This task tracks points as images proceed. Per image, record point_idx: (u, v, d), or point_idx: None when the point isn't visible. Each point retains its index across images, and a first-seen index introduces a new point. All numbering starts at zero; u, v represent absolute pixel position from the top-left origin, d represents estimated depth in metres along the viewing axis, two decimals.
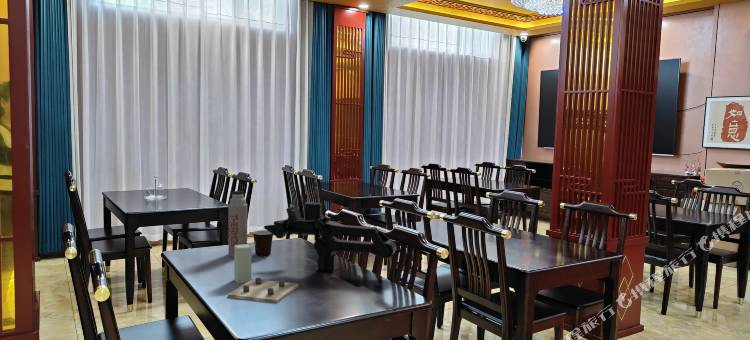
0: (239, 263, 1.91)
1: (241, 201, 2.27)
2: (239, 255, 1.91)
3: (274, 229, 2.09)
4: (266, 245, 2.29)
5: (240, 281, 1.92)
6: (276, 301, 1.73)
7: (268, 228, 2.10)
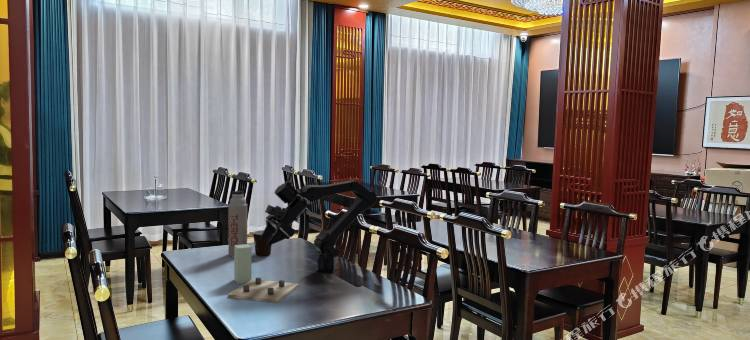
0: (239, 263, 1.91)
1: (241, 201, 2.27)
2: (239, 255, 1.91)
3: (279, 236, 1.94)
4: (266, 245, 2.29)
5: (240, 281, 1.92)
6: (276, 301, 1.73)
7: (273, 241, 1.94)
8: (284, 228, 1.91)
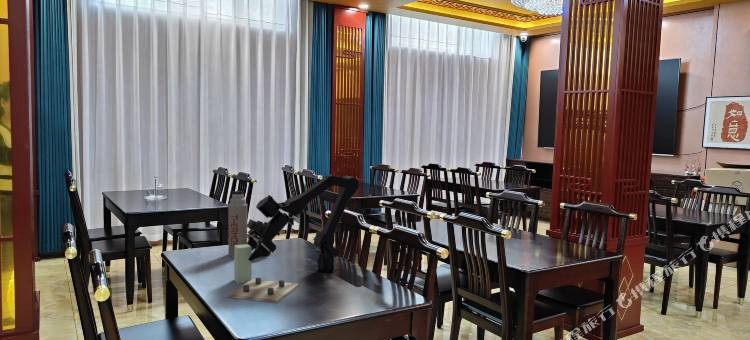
0: (239, 263, 1.91)
1: (241, 201, 2.27)
2: (239, 255, 1.91)
3: (260, 251, 1.91)
4: None
5: (240, 281, 1.92)
6: (276, 301, 1.73)
7: (254, 256, 1.91)
8: (265, 243, 1.88)
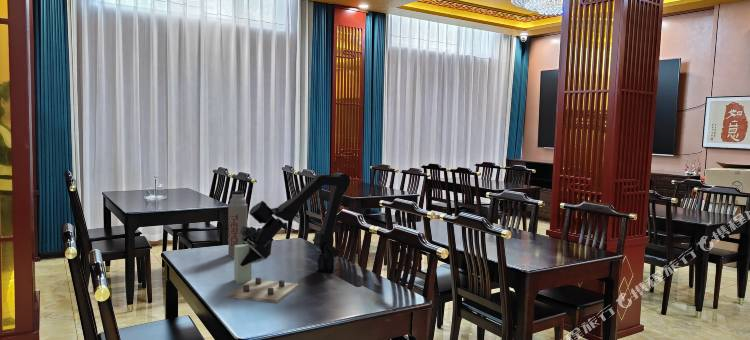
0: (239, 263, 1.91)
1: (241, 201, 2.27)
2: (239, 255, 1.91)
3: (252, 256, 1.92)
4: (266, 245, 2.29)
5: (240, 281, 1.92)
6: (276, 301, 1.73)
7: (246, 261, 1.91)
8: (258, 250, 1.87)
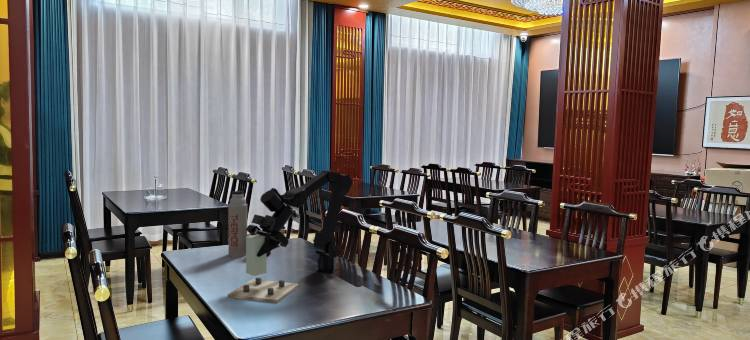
0: (255, 254, 1.82)
1: (241, 201, 2.27)
2: (255, 246, 1.82)
3: (268, 246, 1.84)
4: None
5: (256, 273, 1.83)
6: (276, 301, 1.73)
7: (263, 252, 1.83)
8: (280, 238, 1.80)
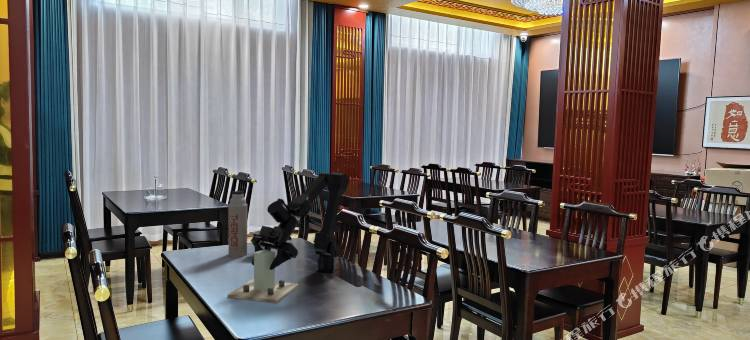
0: (265, 270, 1.80)
1: (241, 201, 2.27)
2: (265, 262, 1.79)
3: (281, 258, 1.81)
4: None
5: (266, 289, 1.81)
6: (276, 301, 1.73)
7: (275, 264, 1.80)
8: (290, 249, 1.79)
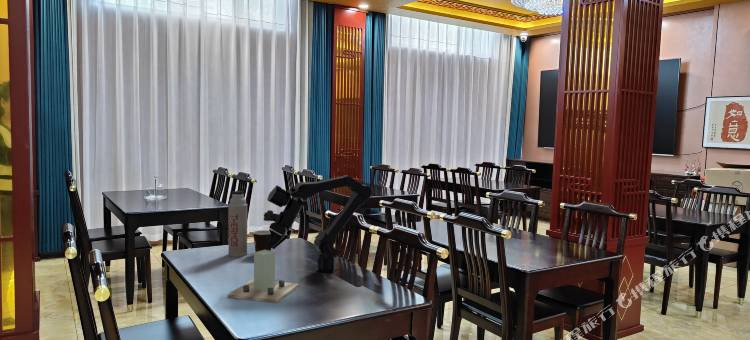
0: (265, 270, 1.80)
1: (241, 201, 2.27)
2: (265, 262, 1.79)
3: (275, 237, 1.96)
4: (266, 245, 2.29)
5: (266, 289, 1.81)
6: (276, 301, 1.73)
7: (271, 244, 1.96)
8: (273, 228, 1.93)
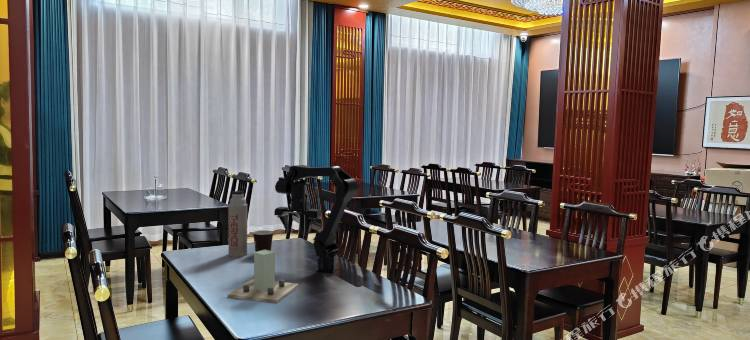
0: (265, 270, 1.80)
1: (241, 201, 2.27)
2: (265, 262, 1.79)
3: None
4: (266, 245, 2.29)
5: (266, 289, 1.81)
6: (276, 301, 1.73)
7: None
8: None
